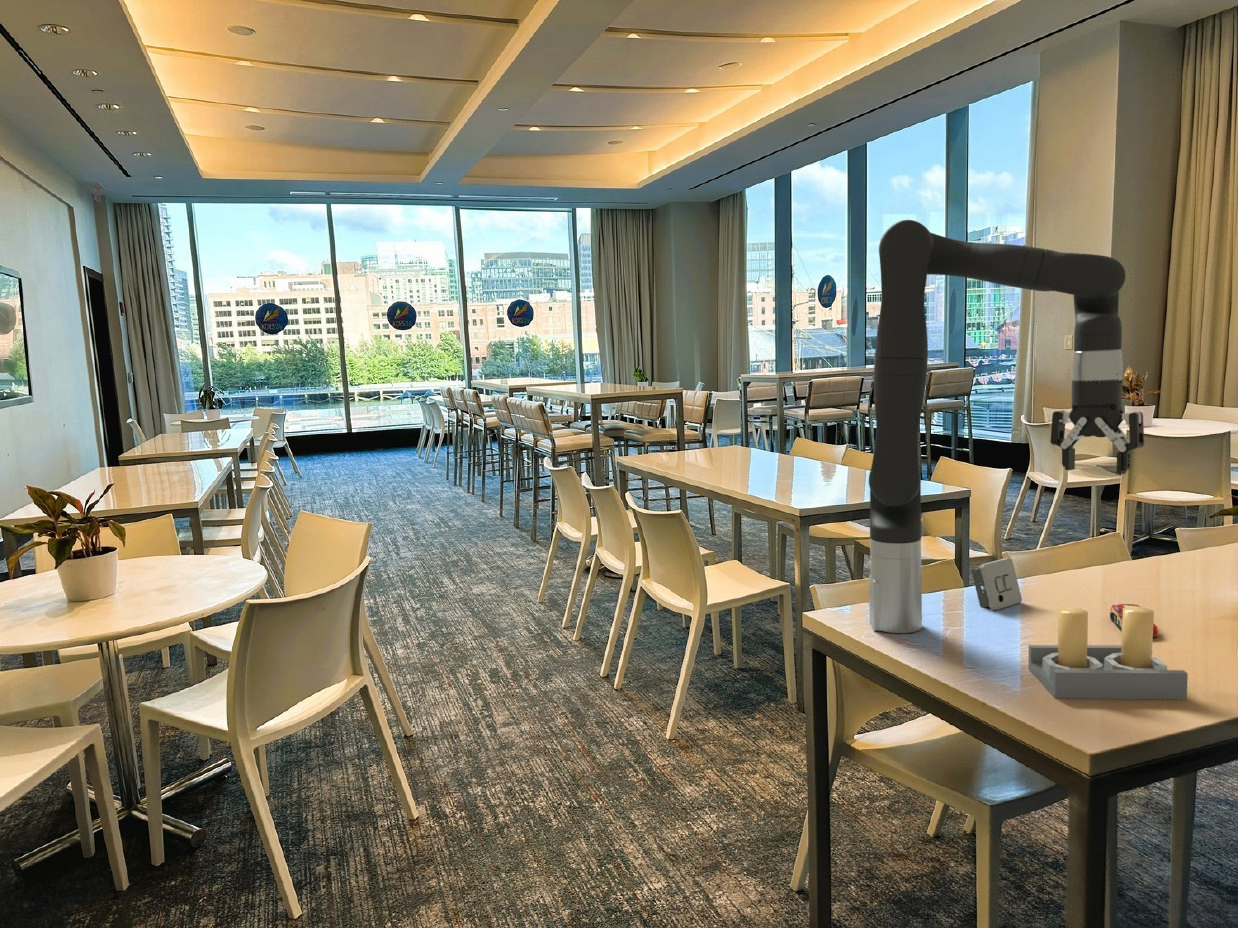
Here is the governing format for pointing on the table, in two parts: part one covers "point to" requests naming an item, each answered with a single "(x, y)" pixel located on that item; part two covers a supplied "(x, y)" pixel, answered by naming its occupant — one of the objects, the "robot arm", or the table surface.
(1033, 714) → the table surface
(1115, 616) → the race car
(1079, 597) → the table surface
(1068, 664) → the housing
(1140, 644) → the domed yellow post
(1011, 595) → the electrical switch
